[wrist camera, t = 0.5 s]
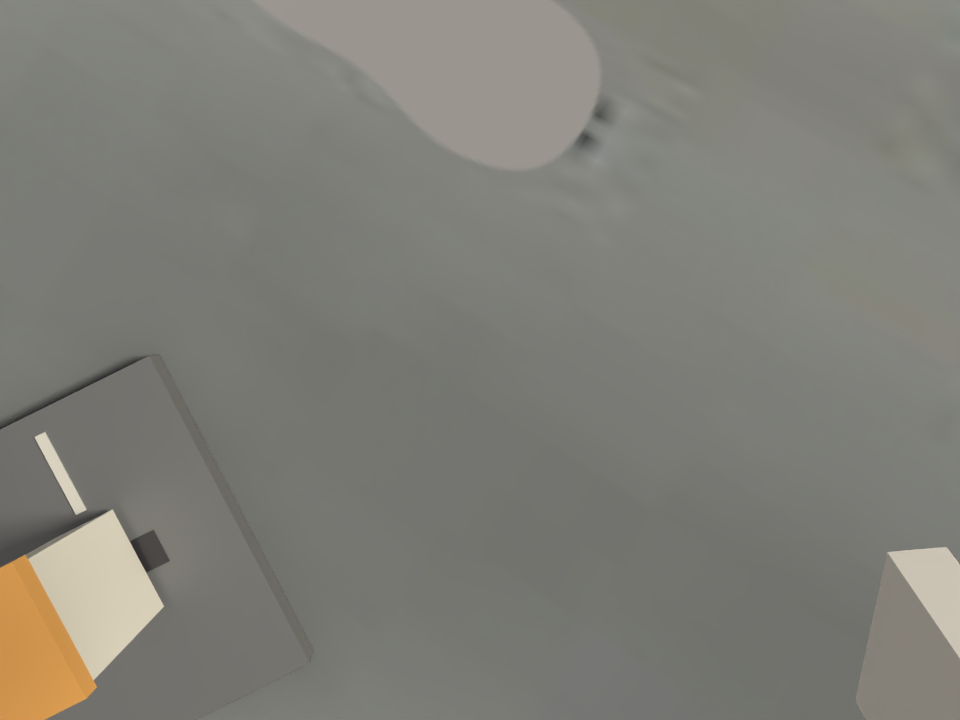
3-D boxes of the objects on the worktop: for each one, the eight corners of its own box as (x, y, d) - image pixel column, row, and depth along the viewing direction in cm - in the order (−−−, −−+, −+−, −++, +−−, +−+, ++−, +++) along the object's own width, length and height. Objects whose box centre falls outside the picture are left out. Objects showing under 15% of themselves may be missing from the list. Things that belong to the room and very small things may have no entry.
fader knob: (169, 608, 41) (86, 698, 31) (102, 642, 41) (-3, 743, 31) (114, 503, 41) (12, 562, 31) (46, 537, 41) (-78, 606, 31)
